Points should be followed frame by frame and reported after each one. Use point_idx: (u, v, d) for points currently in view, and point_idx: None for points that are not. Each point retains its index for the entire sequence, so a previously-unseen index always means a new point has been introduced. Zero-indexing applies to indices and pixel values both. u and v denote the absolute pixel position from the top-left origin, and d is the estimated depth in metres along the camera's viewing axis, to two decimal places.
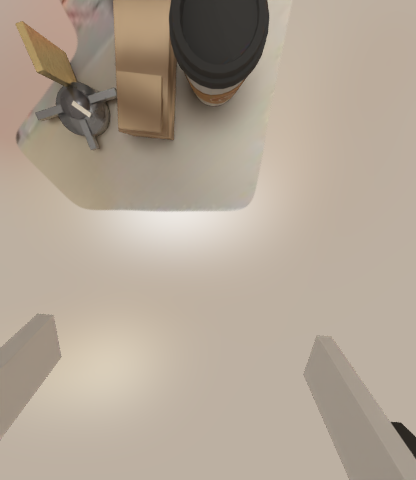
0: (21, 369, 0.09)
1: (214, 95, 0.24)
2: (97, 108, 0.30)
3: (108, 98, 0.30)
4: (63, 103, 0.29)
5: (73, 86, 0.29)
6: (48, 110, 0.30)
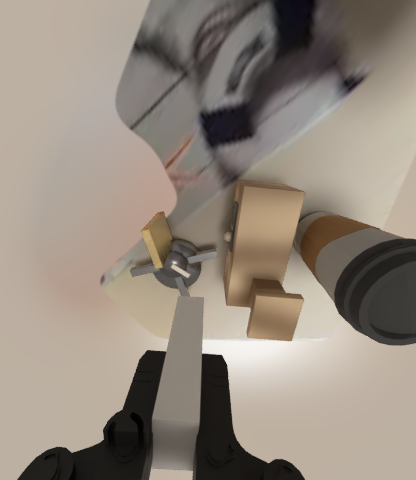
0: None
1: None
2: (195, 266, 0.29)
3: None
4: None
5: (173, 248, 0.28)
6: (144, 269, 0.29)
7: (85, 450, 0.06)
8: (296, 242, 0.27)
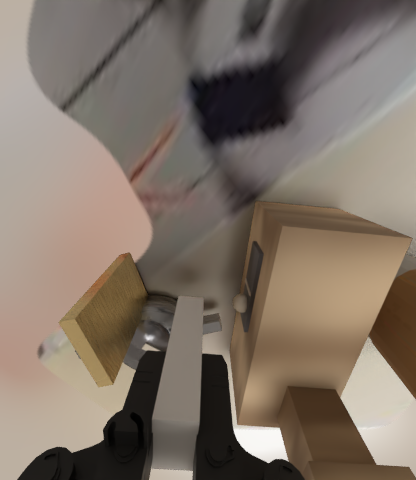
0: None
1: None
2: None
3: None
4: None
5: (145, 316, 0.16)
6: None
7: (85, 450, 0.06)
8: None
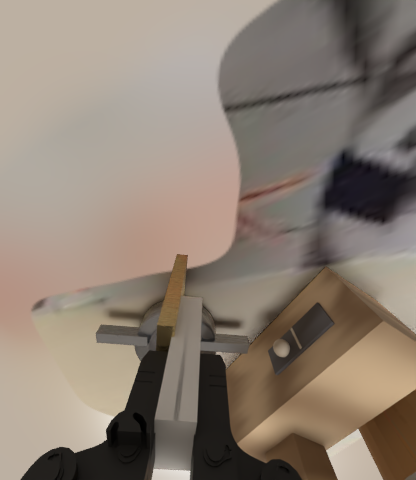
0: None
1: None
2: None
3: None
4: (153, 343, 0.16)
5: None
6: (121, 337, 0.17)
7: (88, 450, 0.06)
8: None
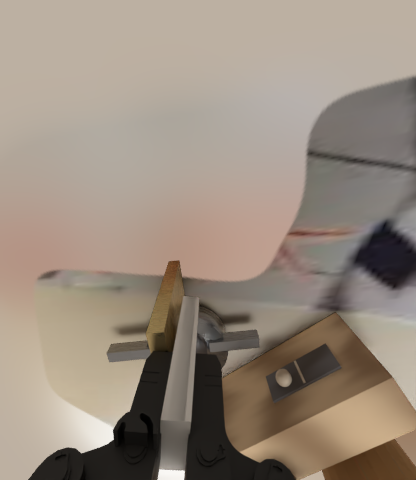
0: None
1: None
2: (218, 355, 0.17)
3: None
4: None
5: None
6: (132, 353, 0.17)
7: (94, 451, 0.06)
8: None
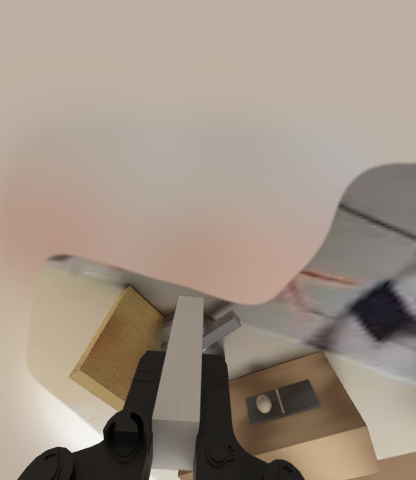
0: None
1: None
2: (212, 350, 0.17)
3: None
4: None
5: (165, 338, 0.17)
6: None
7: (85, 450, 0.06)
8: None
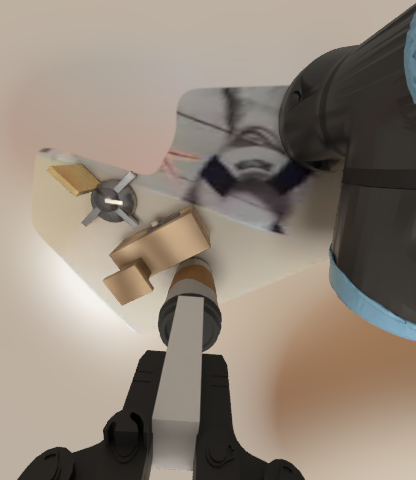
0: None
1: None
2: (124, 194, 0.34)
3: (129, 181, 0.33)
4: (98, 205, 0.33)
5: (99, 187, 0.33)
6: (89, 215, 0.34)
7: (85, 450, 0.06)
8: (181, 265, 0.38)
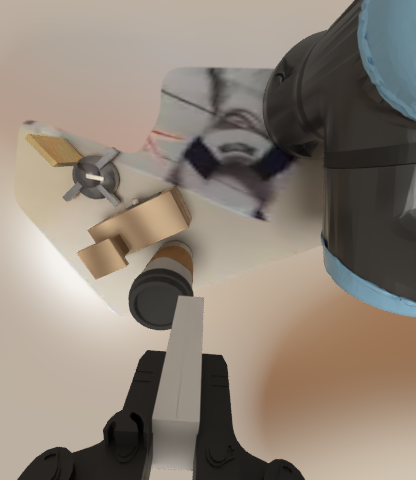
0: None
1: None
2: (106, 170, 0.34)
3: (111, 158, 0.33)
4: (79, 180, 0.33)
5: (81, 162, 0.33)
6: (71, 190, 0.34)
7: (85, 450, 0.06)
8: (161, 247, 0.38)
